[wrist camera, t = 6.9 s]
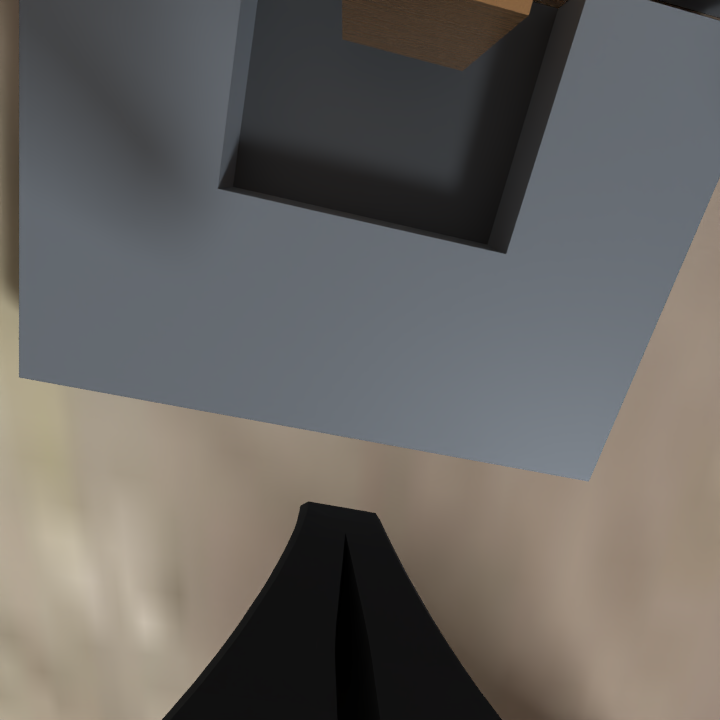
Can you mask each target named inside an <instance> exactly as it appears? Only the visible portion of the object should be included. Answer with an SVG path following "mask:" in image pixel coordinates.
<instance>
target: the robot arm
mask: <svg viewBox="0 0 720 720" xmlns="http://www.w3.org/2000/svg"><path fill="white" fill-rule="evenodd" d="M162 720H502V719H501V718H500V717H499V715H498V714H497V713H496V711H495V710H494V709H493V707H492V706H491V705H490V704H489V702H488V701H487V700H486V698H485V697H484V696H483V694H482V693H481V692H480V690H479V689H478V687H477V686H476V685H475V683H474V682H473V680H472V679H471V677H470V676H469V675H468V673H467V672H466V670H465V669H464V667H463V666H462V664H461V663H460V661H459V660H458V658H457V657H456V655H455V654H454V652H453V651H452V649H451V648H450V646H449V644H448V643H447V641H446V640H445V638H444V637H443V635H442V634H441V632H440V630H439V629H438V627H437V625H436V624H435V622H434V621H433V619H432V617H431V616H430V614H429V612H428V610H427V609H426V607H425V605H424V603H423V602H422V600H421V598H420V597H419V595H418V593H417V591H416V590H415V588H414V586H413V584H412V583H411V581H410V579H409V577H408V575H407V573H406V571H405V570H404V568H403V566H402V564H401V562H400V560H399V558H398V556H397V554H396V552H395V550H394V548H393V546H392V544H391V542H390V540H389V538H388V536H387V534H386V532H385V530H384V528H383V526H382V524H381V521H380V519H379V518H378V516H377V515H376V513H372V512H366V511H360V510H354V509H349V508H343V507H337V506H331V505H325V504H320V503H314V502H307V503H305V504H303V505H301V506H300V511H299V515H298V520H297V523H296V526H295V529H294V531H293V533H292V536H291V538H290V540H289V542H288V544H287V546H286V548H285V550H284V552H283V554H282V556H281V558H280V559H279V561H278V563H277V565H276V566H275V568H274V570H273V572H272V574H271V575H270V577H269V579H268V581H267V582H266V584H265V586H264V587H263V589H262V590H261V592H260V593H259V595H258V596H257V598H256V599H255V601H254V602H253V604H252V605H251V607H250V608H249V610H248V611H247V613H246V614H245V616H244V617H243V619H242V620H241V622H240V623H239V625H238V626H237V627H236V629H235V630H234V632H233V633H232V634H231V636H230V637H229V638H228V640H227V641H226V642H225V644H224V645H223V646H222V648H221V649H220V650H219V652H218V653H217V654H216V656H215V657H214V658H213V659H212V661H211V662H210V663H209V664H208V666H207V667H206V668H205V670H204V671H203V672H202V673H201V675H200V676H199V677H198V678H197V680H196V681H195V682H194V683H193V684H192V686H191V687H190V688H189V689H188V690H187V691H186V693H185V694H184V695H183V696H182V697H181V698H180V699H179V701H178V702H177V703H176V704H175V705H174V706H173V708H172V709H171V710H170V711H169V712H168V713H167V715H166V716H165V717H164V718H163V719H162Z"/></svg>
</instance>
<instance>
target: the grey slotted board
mask: <svg viewBox="0 0 720 720" xmlns="http://www.w3.org/2000/svg"><path fill="white" fill-rule="evenodd" d="M660 1H663V2H667V3H670V4H674V5H677V6H680V7H684V8H687V9H691V10H694V11H698V12H701V13H705V14H708V15H712V16H715V17H719V18H720V0H660ZM719 177H720V21H719V20H715V19H712V18H708V17H705V16H701V15H698V14H694V13H691V12H687V11H684V10H680V9H677V8H673V7H670V6H666V5H663V4H659V3H656V2H653V1H649V0H569V1H568V2H566V3H565V4H564V5H562V6H561V7H560V8H558V9H557V8H554V7H550V6H547V5H543V4H539V3H536V2H532V6H531V9H530V13H529V15H528V16H527V17H526V18H525V19H524V20H522V21H521V22H520V23H519V24H518V25H517V26H515V27H514V28H513V29H512V30H511V31H509V32H508V33H507V34H506V35H505V36H504V37H502V38H501V39H500V40H499V41H498V42H496V43H495V44H494V45H493V46H492V47H491V48H489V49H488V50H487V51H486V52H485V53H483V54H482V55H481V56H480V57H479V58H478V59H476V60H475V61H474V62H473V63H472V64H470V65H469V66H468V67H467V68H466V69H464V70H463V71H461V70H457V69H453V68H449V67H445V66H441V65H438V64H434V63H430V62H426V61H422V60H419V59H415V58H411V57H407V56H403V55H400V54H396V53H392V52H388V51H384V50H381V49H377V48H373V47H369V46H365V45H361V44H358V43H354V42H350V41H346V40H342V0H19V377H20V378H26V379H31V380H37V381H42V382H47V383H53V384H58V385H64V386H69V387H75V388H80V389H86V390H91V391H97V392H102V393H108V394H113V395H119V396H124V397H130V398H135V399H141V400H146V401H151V402H157V403H162V404H168V405H173V406H179V407H184V408H190V409H195V410H201V411H206V412H212V413H217V414H223V415H228V416H234V417H239V418H245V419H250V420H255V421H261V422H266V423H272V424H277V425H283V426H288V427H294V428H299V429H305V430H310V431H316V432H321V433H327V434H332V435H338V436H343V437H348V438H354V439H359V440H365V441H370V442H376V443H381V444H387V445H392V446H398V447H403V448H409V449H414V450H420V451H425V452H431V453H436V454H442V455H447V456H452V457H458V458H463V459H469V460H474V461H480V462H485V463H491V464H496V465H502V466H507V467H513V468H518V469H524V470H529V471H535V472H540V473H546V474H551V475H556V476H562V477H567V478H573V479H578V480H584V481H589V480H590V477H591V475H592V473H593V470H594V468H595V466H596V463H597V461H598V459H599V456H600V454H601V452H602V449H603V447H604V445H605V442H606V440H607V438H608V435H609V433H610V431H611V429H612V426H613V424H614V422H615V419H616V417H617V415H618V412H619V410H620V408H621V405H622V403H623V401H624V398H625V396H626V394H627V391H628V389H629V387H630V384H631V382H632V380H633V377H634V375H635V373H636V370H637V368H638V366H639V363H640V361H641V359H642V356H643V354H644V352H645V349H646V347H647V345H648V342H649V340H650V338H651V335H652V333H653V331H654V328H655V326H656V324H657V322H658V319H659V317H660V315H661V312H662V310H663V308H664V305H665V303H666V301H667V298H668V296H669V294H670V291H671V289H672V287H673V284H674V282H675V280H676V277H677V275H678V273H679V270H680V268H681V266H682V263H683V261H684V259H685V256H686V254H687V252H688V249H689V247H690V245H691V242H692V240H693V238H694V235H695V233H696V231H697V228H698V226H699V224H700V221H701V219H702V217H703V215H704V212H705V210H706V208H707V205H708V203H709V201H710V198H711V196H712V194H713V191H714V189H715V187H716V184H717V182H718V180H719Z"/></svg>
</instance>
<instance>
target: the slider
mask: <svg viewBox="0 0 720 720" xmlns="http://www.w3.org/2000/svg"><path fill="white" fill-rule="evenodd" d="M532 2H533V0H342V40H346V41H350V42H354V43H358V44H361V45H365V46H369V47H373V48H377V49H381V50H384V51H388V52H392V53H396V54H400V55H403V56H407V57H411V58H415V59H419V60H422V61H426V62H430V63H434V64H438V65H441V66H445V67H449V68H453V69H457V70H461V71H463V70H464V69H466V68H467V67H468V66H469V65H470V64H472V63H473V62H474V61H475V60H476V59H478V58H479V57H480V56H481V55H482V54H483V53H485V52H486V51H487V50H488V49H489V48H491V47H492V46H493V45H494V44H495V43H496V42H498V41H499V40H500V39H501V38H502V37H504V36H505V35H506V34H507V33H508V32H509V31H511V30H512V29H513V28H514V27H515V26H517V25H518V24H519V23H520V22H521V21H522V20H524V19H525V18H526V17H527V16H528V15H529V13H530V9H531V6H532Z"/></svg>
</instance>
